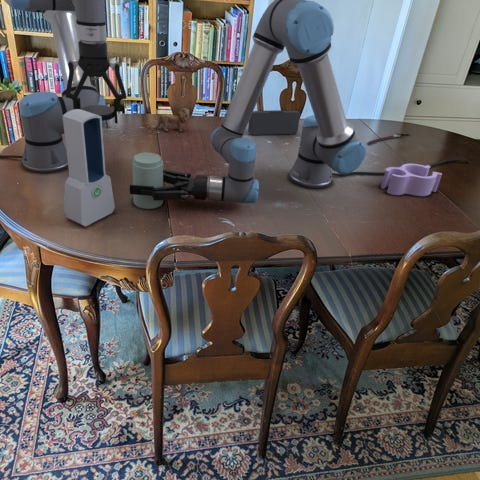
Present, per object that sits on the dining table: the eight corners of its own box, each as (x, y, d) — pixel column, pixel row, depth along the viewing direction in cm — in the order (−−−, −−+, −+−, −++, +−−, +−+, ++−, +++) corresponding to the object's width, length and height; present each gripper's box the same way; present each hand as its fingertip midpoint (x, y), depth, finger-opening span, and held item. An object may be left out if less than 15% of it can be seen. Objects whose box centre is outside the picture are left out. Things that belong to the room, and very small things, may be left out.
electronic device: (82, 228, 128) (71, 122, 112) (63, 219, 131) (50, 114, 115) (115, 211, 137) (109, 111, 121) (97, 203, 140) (89, 104, 124)
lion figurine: (187, 126, 202) (187, 106, 197) (190, 131, 198) (191, 110, 193) (153, 128, 197) (153, 107, 193) (156, 132, 193) (155, 111, 188)
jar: (129, 197, 145) (127, 153, 137) (156, 193, 149) (156, 150, 141) (139, 210, 139) (137, 165, 131) (167, 206, 143) (167, 161, 135)
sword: (406, 132, 223) (406, 130, 222) (411, 134, 221) (412, 132, 220) (362, 144, 207) (363, 141, 206) (368, 146, 205) (368, 143, 204)
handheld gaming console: (295, 131, 210) (298, 109, 204) (297, 134, 208) (301, 111, 202) (247, 133, 203) (249, 110, 197) (249, 135, 201) (251, 112, 195)
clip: (394, 198, 162) (399, 180, 158) (374, 182, 171) (379, 165, 168) (440, 194, 168) (447, 177, 164) (419, 179, 178) (424, 162, 174)
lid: (121, 116, 139) (121, 110, 138) (96, 123, 132) (95, 117, 131) (99, 108, 143) (99, 102, 142) (73, 114, 136) (73, 109, 135)
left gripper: (47, 41, 121) (57, 125, 133) (134, 46, 126) (137, 126, 138) (50, 36, 127) (59, 117, 139) (133, 40, 132) (135, 117, 144)
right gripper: (205, 216, 135) (126, 210, 133) (208, 183, 153) (139, 178, 152) (206, 193, 131) (125, 187, 129) (209, 162, 149) (138, 156, 147)
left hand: (98, 121), depth 138 cm, fingers closed on lid, 9 cm apart
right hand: (132, 182), depth 140 cm, fingers closed on jar, 9 cm apart
